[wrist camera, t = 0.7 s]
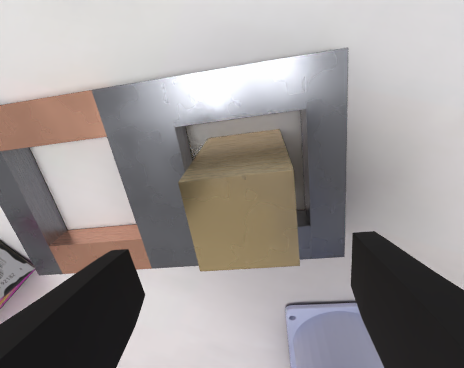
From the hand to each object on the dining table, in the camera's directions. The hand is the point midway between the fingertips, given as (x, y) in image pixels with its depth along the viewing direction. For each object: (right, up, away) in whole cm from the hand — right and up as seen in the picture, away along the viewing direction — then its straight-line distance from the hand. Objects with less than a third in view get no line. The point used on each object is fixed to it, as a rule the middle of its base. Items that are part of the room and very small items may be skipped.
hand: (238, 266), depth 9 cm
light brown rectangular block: (+1, +4, +9) cm, 9 cm away
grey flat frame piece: (-5, +3, +9) cm, 11 cm away
